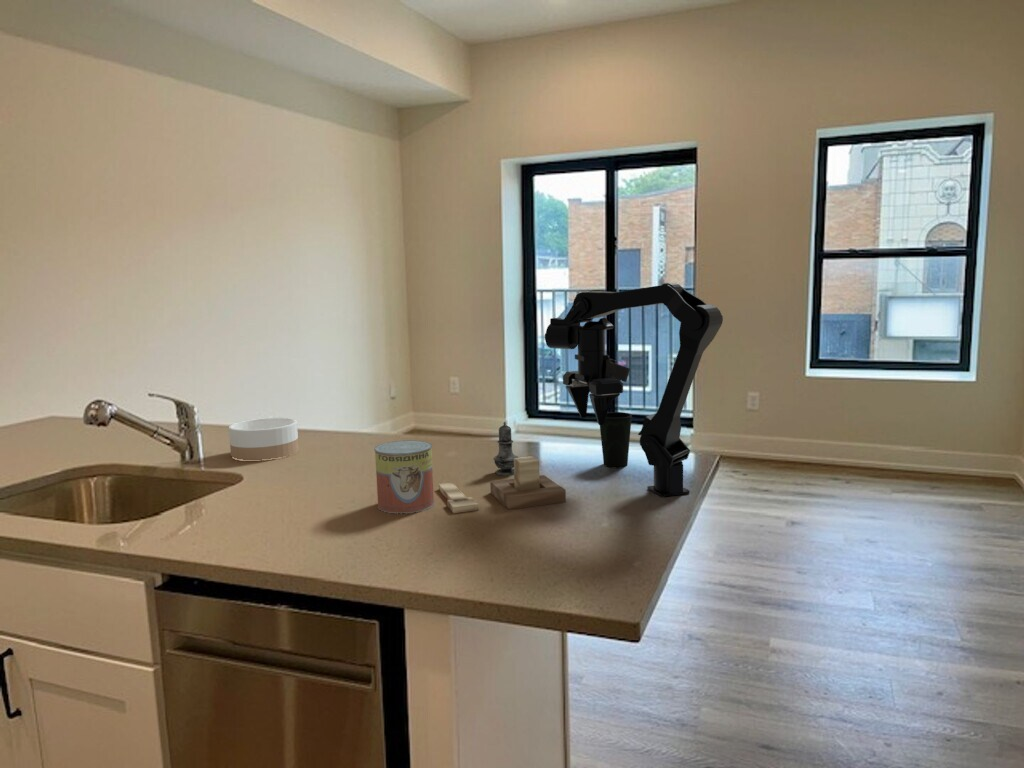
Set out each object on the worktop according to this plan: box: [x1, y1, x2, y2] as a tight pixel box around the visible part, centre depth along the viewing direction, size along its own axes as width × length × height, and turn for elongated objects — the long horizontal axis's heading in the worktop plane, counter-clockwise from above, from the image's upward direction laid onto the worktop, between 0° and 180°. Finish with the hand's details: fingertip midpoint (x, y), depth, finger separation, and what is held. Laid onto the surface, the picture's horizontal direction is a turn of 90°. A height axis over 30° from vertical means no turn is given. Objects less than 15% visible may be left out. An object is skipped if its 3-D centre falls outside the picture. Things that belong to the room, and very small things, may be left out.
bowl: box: [228, 417, 300, 460], centre depth 193 cm, size 17×17×8 cm
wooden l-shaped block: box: [438, 482, 479, 514], centre depth 148 cm, size 17×5×1 cm, turn 19°
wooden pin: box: [513, 455, 540, 491], centre depth 147 cm, size 4×4×8 cm
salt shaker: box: [492, 421, 520, 477], centre depth 166 cm, size 6×6×12 cm
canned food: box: [374, 440, 435, 515], centre depth 144 cm, size 11×11×12 cm
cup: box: [599, 411, 633, 468], centre depth 171 cm, size 8×8×12 cm
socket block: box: [489, 474, 567, 510], centre depth 148 cm, size 12×12×2 cm
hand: (592, 421), depth 158 cm, fingers open, 9 cm apart
